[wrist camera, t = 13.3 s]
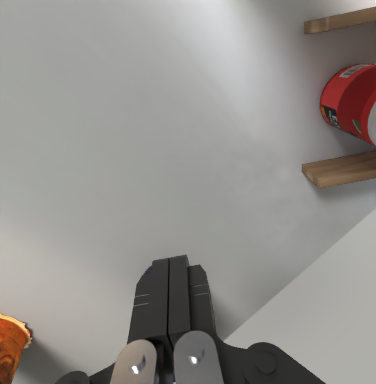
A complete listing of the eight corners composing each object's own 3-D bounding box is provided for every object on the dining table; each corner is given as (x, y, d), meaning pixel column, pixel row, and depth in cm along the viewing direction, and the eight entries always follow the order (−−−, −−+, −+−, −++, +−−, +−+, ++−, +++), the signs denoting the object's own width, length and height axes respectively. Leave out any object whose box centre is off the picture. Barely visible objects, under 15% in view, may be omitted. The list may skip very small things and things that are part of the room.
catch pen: (304, 22, 31) (329, 16, 26) (422, -4, 30) (470, -14, 25) (302, 171, 40) (319, 188, 35) (392, 154, 39) (423, 169, 34)
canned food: (306, 114, 36) (355, 137, 26) (342, 52, 32) (414, 52, 23) (351, 134, 37) (413, 162, 28) (390, 77, 34) (475, 87, 24)
